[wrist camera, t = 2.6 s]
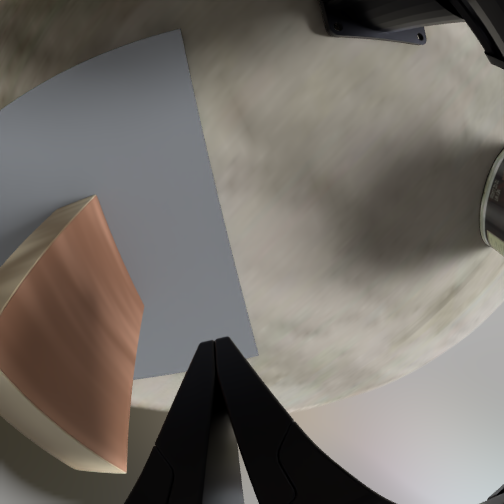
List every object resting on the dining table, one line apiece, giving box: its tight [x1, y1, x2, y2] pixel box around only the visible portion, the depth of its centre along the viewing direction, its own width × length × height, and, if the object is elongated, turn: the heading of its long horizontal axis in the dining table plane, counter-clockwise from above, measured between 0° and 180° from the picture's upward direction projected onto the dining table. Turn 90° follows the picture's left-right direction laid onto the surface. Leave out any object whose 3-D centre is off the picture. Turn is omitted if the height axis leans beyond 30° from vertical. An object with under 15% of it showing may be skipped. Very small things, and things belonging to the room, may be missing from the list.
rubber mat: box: [0, 29, 259, 380], centre depth 14 cm, size 20×20×1 cm
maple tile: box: [0, 194, 144, 473], centre depth 10 cm, size 2×7×10 cm, turn 11°
